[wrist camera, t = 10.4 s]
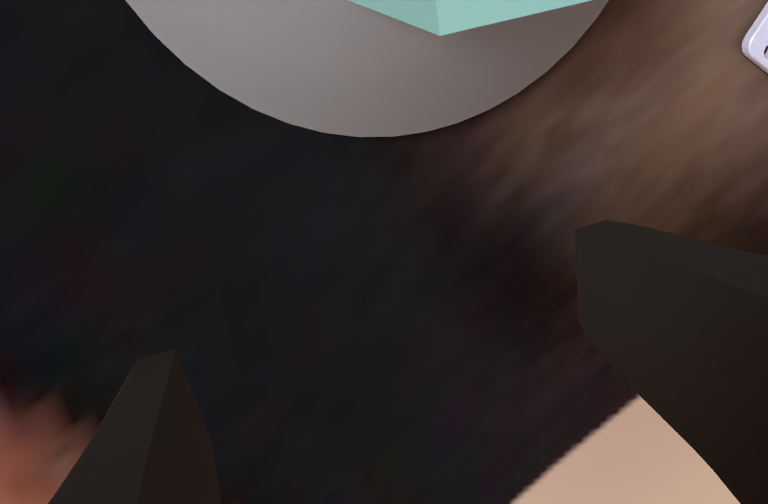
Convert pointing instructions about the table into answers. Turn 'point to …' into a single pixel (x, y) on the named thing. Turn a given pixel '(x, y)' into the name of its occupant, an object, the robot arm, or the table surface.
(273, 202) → the table surface
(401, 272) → the table surface
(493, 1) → the tall mint rectangular block
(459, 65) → the plate
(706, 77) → the table surface
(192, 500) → the robot arm
